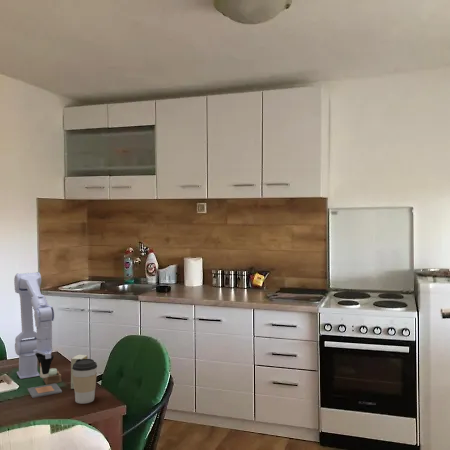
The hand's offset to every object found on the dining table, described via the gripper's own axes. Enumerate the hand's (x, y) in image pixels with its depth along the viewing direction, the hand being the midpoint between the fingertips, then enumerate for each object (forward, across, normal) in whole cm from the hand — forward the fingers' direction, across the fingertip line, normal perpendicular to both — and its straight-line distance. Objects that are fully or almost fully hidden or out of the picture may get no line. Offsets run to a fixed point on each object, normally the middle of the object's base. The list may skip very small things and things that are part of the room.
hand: (44, 372), depth 197 cm
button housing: (+7, -10, +5) cm, 13 cm away
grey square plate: (+7, 0, 0) cm, 7 cm away
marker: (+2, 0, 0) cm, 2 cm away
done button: (+6, -10, +5) cm, 13 cm away
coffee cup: (+8, +17, +11) cm, 22 cm away
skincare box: (+8, +2, +13) cm, 15 cm away
